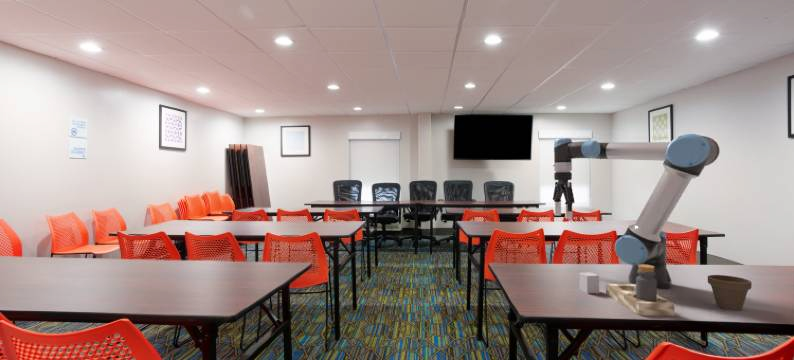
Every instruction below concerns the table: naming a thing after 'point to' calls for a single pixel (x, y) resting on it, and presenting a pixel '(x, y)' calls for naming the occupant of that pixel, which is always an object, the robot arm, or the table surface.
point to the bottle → (646, 284)
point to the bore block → (639, 301)
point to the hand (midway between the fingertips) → (563, 217)
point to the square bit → (589, 282)
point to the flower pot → (729, 291)
